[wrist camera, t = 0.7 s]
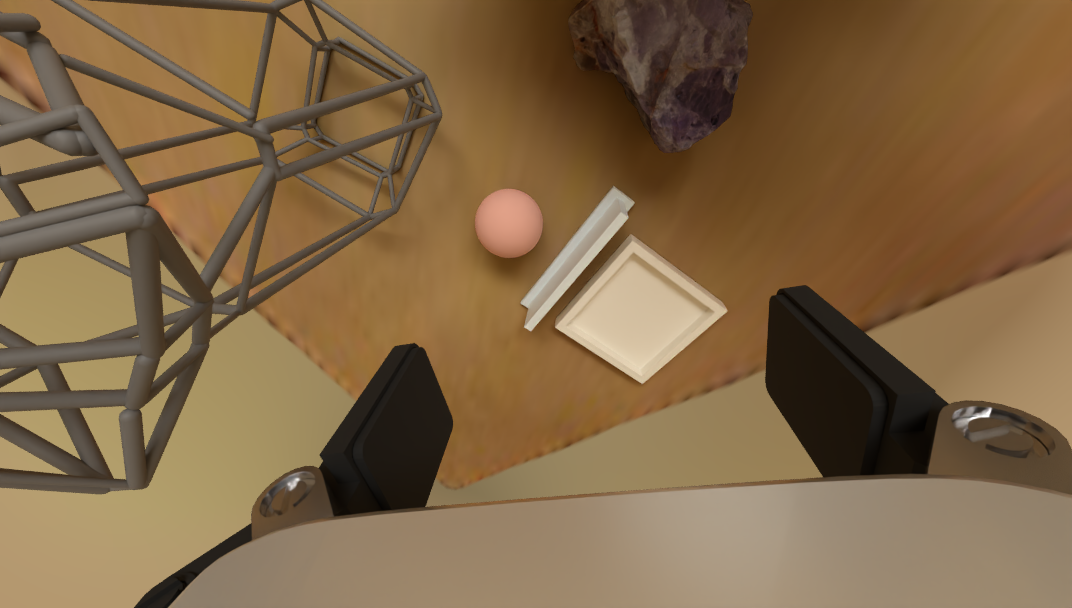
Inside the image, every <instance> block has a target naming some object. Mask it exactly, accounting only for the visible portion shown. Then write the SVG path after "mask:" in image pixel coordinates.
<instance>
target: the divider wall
mask: <svg viewBox="0 0 1072 608" xmlns="http://www.w3.org/2000/svg"><path fill="white" fill-rule="evenodd" d="M633 205H634V201H633V200H632V199H630V198H629V197H628V196H626V195H625V194H624V193H623V192H621V191H620V190H619V189H617V188H616V187H615V186H613V187H612V188H611V189H610V190H609V192H608V193H607V194H606V195H605V197H604V198H603V199H602V200H601V202H600V203H599V204H598V205H597V207H596V208H595V209H594V210H593V212H592V213H591V214H590V215H589V217H588V218H587V219H586V220H585V222H584V223H583V224H582V225H581V227H580V228H579V229H578V230H577V232H576V233H575V234H574V235H573V237H572V238H571V239H570V240H569V242H568V243H567V244H566V245H565V247H564V248H563V249H562V250H561V252H560V253H559V254H558V255H557V257H556V258H555V259H554V260H553V262H552V263H551V264H550V265H549V267H548V268H547V269H546V270H545V272H544V273H543V274H542V275H541V277H540V278H539V279H538V280H537V282H536V283H535V284H534V285H533V287H532V288H531V289H530V290H529V292H528V293H527V294H526V295H525V297H524V298H523V299H522V300H521V304H522V305H524V306H525V307H527V308H528V312H527V317H526V321H525V325H524V327H525V328H526V329H528V330H529V331H532V330H533V328H534V327H535V326H536V325H537V324H538V323H539V321H540V320H541V319H542V318H543V317H544V316H545V314H546V313H547V312H548V311H549V310H550V309H551V307H552V306H553V305H554V304H555V303H556V302H557V301H558V299H559V298H560V297H561V296H562V295H563V294H564V292H565V291H566V290H567V289H568V288H569V287H570V285H571V284H572V283H573V282H574V281H575V280H576V278H577V277H578V276H579V275H580V274H581V273H582V271H583V270H584V269H585V268H586V267H587V266H588V265H589V263H590V262H591V261H592V260H593V259H594V258H595V256H596V255H597V254H598V253H599V252H600V251H601V249H602V248H603V247H604V246H605V245H606V244H607V242H608V241H609V240H610V239H611V238H612V237H613V235H614V234H615V233H616V232H617V231H618V230H619V228H620V227H621V226H622V225H623V224H624V223H625V222H626V220H627V219H628V218H629V217H628V214H627V212H628V211H629V209H630V208H631V207H632V206H633Z"/></svg>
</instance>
